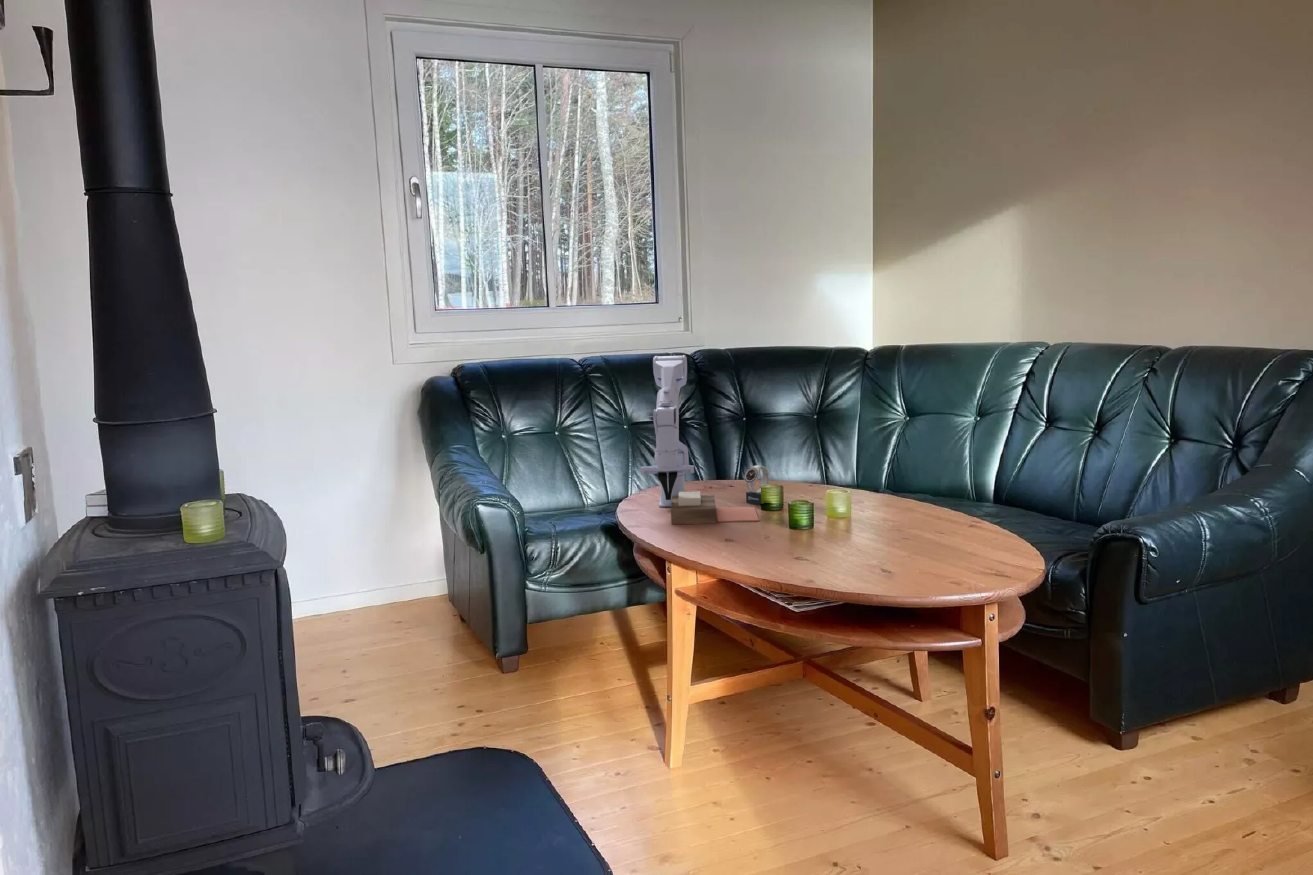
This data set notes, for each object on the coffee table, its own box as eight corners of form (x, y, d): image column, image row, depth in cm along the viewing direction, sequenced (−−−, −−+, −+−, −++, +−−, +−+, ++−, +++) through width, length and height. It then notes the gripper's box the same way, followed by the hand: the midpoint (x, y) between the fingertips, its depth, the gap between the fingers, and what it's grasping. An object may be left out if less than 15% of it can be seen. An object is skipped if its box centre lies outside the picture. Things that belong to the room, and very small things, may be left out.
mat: (715, 509, 241) (715, 507, 240) (754, 508, 240) (754, 506, 240) (717, 522, 225) (717, 520, 225) (758, 521, 224) (758, 519, 224)
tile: (678, 498, 237) (678, 491, 237) (700, 498, 237) (700, 491, 236) (678, 505, 228) (678, 498, 228) (700, 505, 228) (700, 497, 228)
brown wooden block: (672, 509, 242) (672, 495, 241) (714, 508, 242) (714, 494, 241) (671, 524, 224) (670, 509, 224) (716, 523, 224) (716, 508, 223)
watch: (741, 503, 246) (740, 466, 245) (760, 499, 252) (759, 463, 250) (756, 506, 242) (755, 468, 241) (774, 501, 247) (773, 465, 246)
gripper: (639, 453, 227) (641, 502, 229) (693, 452, 226) (694, 501, 228) (641, 449, 234) (642, 497, 236) (693, 448, 233) (694, 496, 235)
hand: (668, 499), depth 232 cm, fingers closed
